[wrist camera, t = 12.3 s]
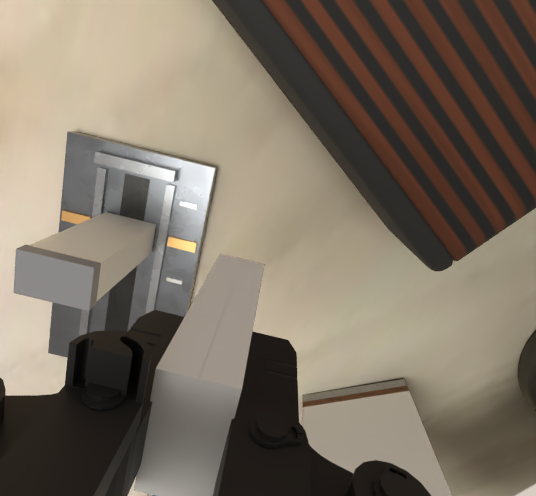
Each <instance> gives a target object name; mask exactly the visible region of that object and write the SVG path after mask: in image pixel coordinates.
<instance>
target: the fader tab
mask: <svg viewBox="0 0 536 496" xmlns="http://www.w3.org/2000/svg"><path fill="white" fill-rule="evenodd" d="M155 228H156V224H153V223H149V222H145V221H141V220H137V219H133V218H128V217H124V216H120V215H116V214H112V213H108V212H105V213H102V214H100V215H98V216H95V217H93V218H91V219H89V220H86V221H84V222H82V223H80V224H77V225H75V226H73V227H70V228H68V229H66V230H64V231H61V232H59V233H57V234H55V235H52V236H50V237H48V238H45V239H43V240H41V241H39V242H36V243H34V244H32V245H30V246H29V245H24V246H22V247H20V248H17V249H16V259H15V278H14V293H16V294H20V295H24V296H29V297H33V298H37V299H41V300H45V301H49V302H54V303H58V304H62V305H66V306H70V307H74V308H79V309H83V310H87V311H90V310H91V309H92V308H93V307H94V306H95V305H96V302H97V301H98V300H99V299H100V298H101V297H102V296H103V295H105V294H106V293H107V292H108V291H109V290H110V289H111V288H112V287H114V286H115V285H116V284H117V283H118V282H119V281H120V280H121V279H123V278H124V277H125V276H126V275H127V274H128V273H129V272H130V271H132V270H133V269H134V268H135V267H136V266H137V265H138V264H140V263H141V262H142V261H143V260H144V259H145V258H146V257H147V256H149V255H150V254H151V253H152V247H153V241H154V234H155Z"/></svg>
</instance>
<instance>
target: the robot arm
mask: <svg viewBox="0 0 536 496" xmlns="http://www.w3.org/2000/svg"><path fill="white" fill-rule="evenodd" d="M264 265H265V264H261V263H257V262H253V261H249V260H245V259H241V258H237V257H233V256H228V255H224V254H220V255H219V257H218V258H217V260H216V262H215V264H214V266H213V267H212V269H211V271H210V273H209V275H208V276H207V278H206V280H205V282H204V283H203V285H202V287H201V289H200V291H199V292H198V294H197V296H196V298H195V299H194V301H193V303H192V305H191V307H190V308H189V310H188V312H187V314H186V316H185V317H183V316H179V315H174V314H170V313H166V312H162V311H158V310H153V311H151V312H149V313H147V314H145V315H143V316H140V317H139V318H138V319H137V321H136V322H135V323H134V324H133V326H132V327H131V329H130V330H129V331H128V332H121V331H113V330H106V331H94V332H91V333H87V334H84V335H81V336H79V337H77V338H76V339H74V340H73V341H71V342H70V343H69V350H68V360H67V370H66V380H65V386H64V387H63V388H62V389H61V390H60V392H59V393H57V394H52V395H39V396H5V386H4V382H3V380H2V379H1V378H0V496H127V495H128V493H129V491H130V488H131V486H132V484H133V482H134V479H135V477H136V482H135V487H134V490H135V491H139V492H143V493H148V494H152V495H156V496H431V494H430V493H429V492H428V491H427V489H426V488H425V487H424V486H423V485H422V483H421V482H420V481H419V480H417V479H416V478H415V477H414V476H412V475H411V474H410V473H409V472H407V471H406V470H404V469H402V468H400V467H398V466H396V465H394V464H392V463H388V462H383V461H378V460H373V461H367V462H363V463H362V464H361V465H360V466H358V467H357V468H356V469H355V471H354V473H352V472H350V471H348V470H346V469H344V468H342V467H340V466H338V465H336V464H334V463H332V462H331V461H329V460H327V459H326V458H324V457H323V456H321V455H320V454H319V453H317V452H316V451H315V450H314V449H313V448H312V447H311V446H310V445H309V442H308V438H307V435H306V432H305V429H304V428H303V427H302V426H301V424H300V423H299V412H298V384H297V368H296V367H297V356H296V351H295V350H294V348H293V347H292V345H291V344H290V342H289V341H288V340H285V339H281V338H277V337H273V336H269V335H264V334H260V333H256V332H252V331H253V325H254V320H255V314H256V309H257V303H258V298H259V292H260V287H261V281H262V276H263V270H264ZM518 377H519V384H520V388H521V390H522V393H523V395H524V397H525V398H526V400H527V401H528V402H529V404H530V405H531V406H532V407H533V408H534V409H535V410H536V332H535V333H534V334H533V335H532V337H531V338H530V340H529V341H528V343H527V344H526V346H525V348H524V350H523V353H522V355H521V358H520V362H519V369H518ZM136 475H137V476H136Z"/></svg>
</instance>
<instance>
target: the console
mask: <svg viewBox="0 0 536 496" xmlns="http://www.w3.org/2000/svg"><path fill="white" fill-rule="evenodd" d="M217 168H218V167H216V166H212V165H208V164H204V163H200V162H196V161H192V160H188V159H184V158H180V157H176V156H172V155H168V154H164V153H160V152H156V151H152V150H148V149H144V148H140V147H136V146H132V145H128V144H124V143H120V142H116V141H112V140H108V139H104V138H100V137H96V136H92V135H88V134H84V133H80V132H67V144H66V155H65V167H64V178H63V190H62V201H61V213H60V224H59V232H61V231H64V230H66V229H68V228H70V227H73V226H75V225H77V224H80V223H82V222H84V221H86V220H89V219H91V218H93V217H95V216H98V215H100V214H102V213H105V212H108V213H112V214H116V215H120V216H124V217H128V218H133V219H137V220H141V221H145V222H149V223H153V224H156V228H155V234H154V241H153V247H152V253H151V254H150V255H149V256H147V257H146V258H145V259H144V260H143V261H142V262H141V263H140V264H138V265H137V266H136V267H135V268H134V269H133V270H132V271H130V272H129V273H128V274H127V275H126V276H125V277H124V278H123V279H121V280H120V281H119V282H118V283H117V284H116V285H115V286H114V287H112V288H111V289H110V290H109V291H108V292H107V293H106V294H105V295H103V296H102V297H101V298H100V299H99V300H98V301H97V302H96V305H95V306H94V307H93V308H92V309H91V310H90V311H87V310H83V309H79V308H74V307H70V306H66V305H62V304H58V303H54V302H53V305H52V316H51V328H50V339H49V351H48V353H51V354H55V355H59V356H64V357H68V350H69V343H70V342H71V341H73V340H74V339H76V338H77V337H79V336H81V335H84V334H87V333H91V332H94V331H106V330H113V331H121V332H128V331H129V330H130V329H131V327H132V326H133V324H134V323H135V322H136V321H137V319H138V318H139V317H140V316H143V315H145V314H147V313H149V312H151V311H153V310H158V311H162V312H166V313H170V314H174V315H179V316H183V317H185V316H186V314H187V312H188V310H189V308H190V303H191V298H192V293H193V288H194V283H195V278H196V273H197V268H198V263H199V258H200V253H201V248H202V243H203V238H204V233H205V228H206V223H207V218H208V213H209V208H210V203H211V198H212V193H213V188H214V183H215V178H216V173H217Z"/></svg>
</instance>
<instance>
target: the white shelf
mask: <svg viewBox="0 0 536 496" xmlns="http://www.w3.org/2000/svg"><path fill="white" fill-rule="evenodd" d="M303 428H304V429H305V432H306V435H307V438H308V442H309V445H310V446H311V447H312V448H313V449H314V450H315V451H316V452H317V453H319V454H320V455H321V456H323V457H324V458H326V459H327V460H329V461H331V462H332V463H334V464H336V465H338V466H340V467H342V468H344V469H346V470H348V471H350V472H352V473H354V471H355V469H356V468H357V467H358V466H360V465H361V464H362V463H363V462H367V461H373V460H378V461H383V462H388V463H392V464H394V465H396V466H398V467H400V468H402V469H404V470H406V471H407V472H409V473H410V474H411V475H412V476H414V477H415V478H416V479H417V480H419V481H420V482H421V483H422V485H423V486H424V487H425V488H426V489H427V491H428V492H429V493H430V494H431V496H452V495H451V492H450V490H449V487H448V485H447V482H446V480H445V478H444V475H443V473H442V470H441V468H440V465H439V463H438V460H437V458H436V456H435V453H434V451H433V448H432V446H431V443H430V441H429V438H428V436H427V433H426V431H425V429H424V426H423V424H422V421H421V419H420V416H419V414H418V411H417V409H416V407H415V404H414V402H413V399H412V397H411V394H410V392H409V389H408V387H407V384H406V382H405V380H404V379H400V380H394V381H388V382H382V383H376V384H369V385H363V386H357V387H351V388H344V389H338V390H332V391H326V392H320V393H313V394H307V395H303Z"/></svg>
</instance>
